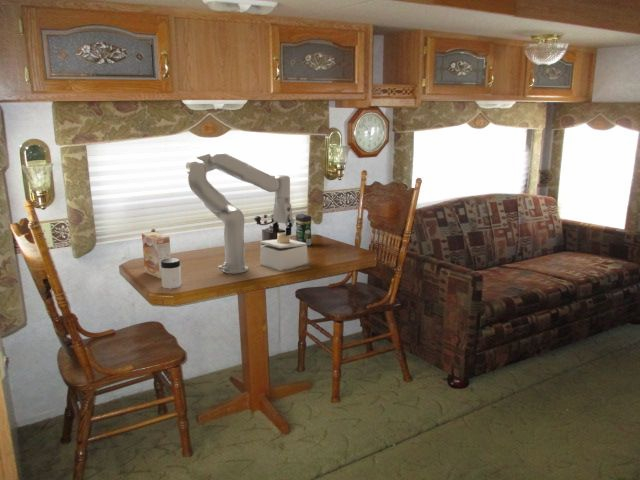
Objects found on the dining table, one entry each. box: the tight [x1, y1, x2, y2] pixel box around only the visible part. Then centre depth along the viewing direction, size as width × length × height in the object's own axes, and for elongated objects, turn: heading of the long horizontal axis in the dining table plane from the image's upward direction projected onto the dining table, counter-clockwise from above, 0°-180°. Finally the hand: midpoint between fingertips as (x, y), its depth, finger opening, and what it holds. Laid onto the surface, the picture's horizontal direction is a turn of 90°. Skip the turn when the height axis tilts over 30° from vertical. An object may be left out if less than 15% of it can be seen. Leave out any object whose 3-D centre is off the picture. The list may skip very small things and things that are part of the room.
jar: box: [161, 257, 182, 290], centre depth 242 cm, size 9×8×12 cm
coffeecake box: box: [141, 231, 172, 279], centre depth 260 cm, size 15×7×20 cm, turn 45°
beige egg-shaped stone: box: [277, 232, 291, 243], centre depth 274 cm, size 6×6×4 cm
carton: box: [259, 245, 308, 272], centre depth 276 cm, size 18×16×10 cm
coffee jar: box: [295, 213, 312, 247], centre depth 317 cm, size 10×8×19 cm
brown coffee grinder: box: [253, 215, 286, 246], centre depth 315 cm, size 16×11×18 cm
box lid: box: [259, 238, 308, 248], centre depth 275 cm, size 19×16×1 cm
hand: (282, 233), depth 273 cm, fingers open, 9 cm apart
